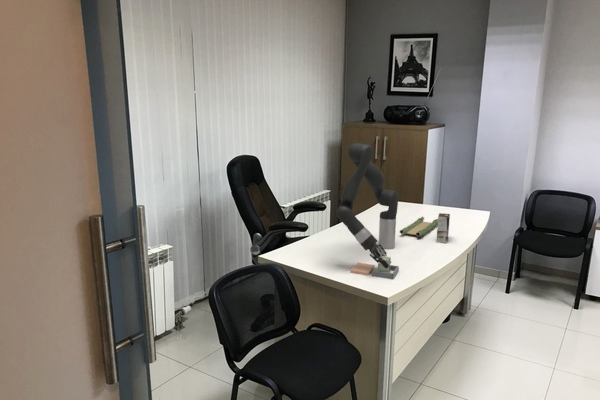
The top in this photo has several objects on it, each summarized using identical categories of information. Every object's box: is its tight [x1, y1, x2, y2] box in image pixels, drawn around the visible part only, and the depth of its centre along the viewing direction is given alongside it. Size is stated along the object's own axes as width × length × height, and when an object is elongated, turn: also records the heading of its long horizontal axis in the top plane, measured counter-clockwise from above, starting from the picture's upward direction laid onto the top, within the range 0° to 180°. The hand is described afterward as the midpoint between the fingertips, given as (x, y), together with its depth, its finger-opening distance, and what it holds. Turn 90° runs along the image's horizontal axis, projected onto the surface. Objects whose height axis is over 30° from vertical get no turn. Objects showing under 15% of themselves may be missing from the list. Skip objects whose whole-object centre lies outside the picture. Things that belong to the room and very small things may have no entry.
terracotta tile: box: [349, 262, 376, 276], centre depth 226 cm, size 12×9×1 cm
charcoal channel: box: [371, 263, 400, 280], centre depth 221 cm, size 12×10×2 cm
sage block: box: [378, 256, 392, 273], centre depth 221 cm, size 4×4×8 cm
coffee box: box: [435, 213, 451, 244], centre depth 271 cm, size 9×6×16 cm
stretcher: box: [399, 216, 438, 238], centre depth 293 cm, size 41×14×5 cm, turn 147°
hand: (388, 265), depth 220 cm, fingers closed on sage block, 4 cm apart
